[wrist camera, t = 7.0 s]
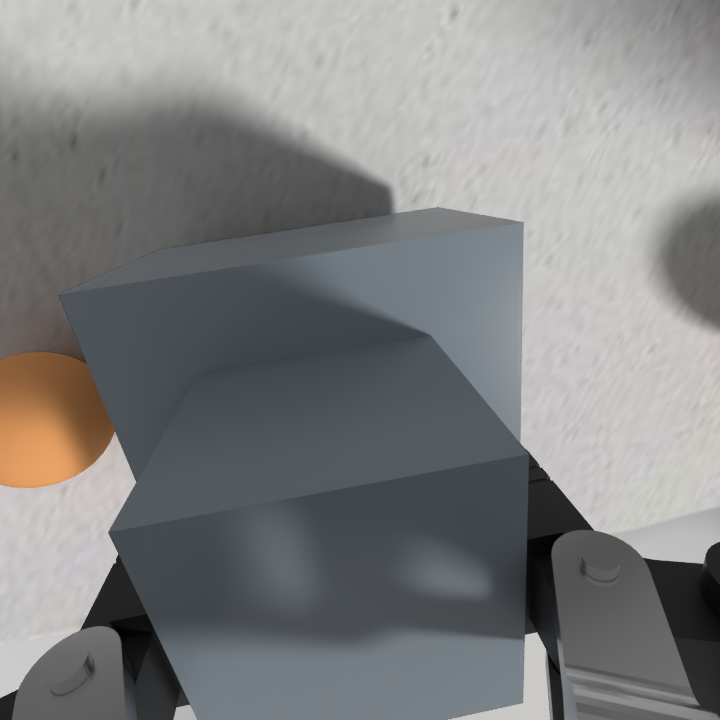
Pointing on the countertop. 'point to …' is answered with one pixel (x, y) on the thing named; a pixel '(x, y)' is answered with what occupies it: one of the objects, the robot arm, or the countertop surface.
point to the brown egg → (49, 419)
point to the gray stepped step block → (324, 463)
